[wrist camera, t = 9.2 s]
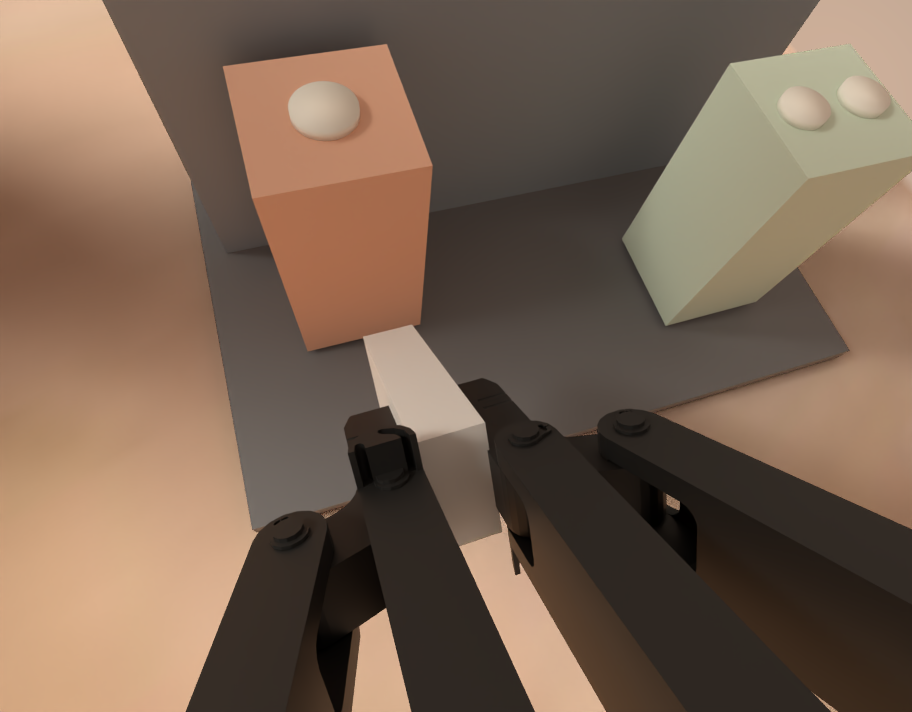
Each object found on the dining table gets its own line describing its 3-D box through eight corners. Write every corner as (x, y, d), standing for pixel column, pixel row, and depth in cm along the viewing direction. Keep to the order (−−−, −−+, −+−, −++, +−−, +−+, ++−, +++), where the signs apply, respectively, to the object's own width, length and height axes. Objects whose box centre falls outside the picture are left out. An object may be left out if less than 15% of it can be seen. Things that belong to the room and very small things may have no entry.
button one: (420, 324, 25) (433, 157, 16) (307, 351, 24) (249, 191, 15) (390, 233, 27) (386, 35, 17) (284, 255, 26) (219, 57, 16)
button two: (755, 302, 27) (944, 143, 18) (665, 325, 26) (814, 171, 17) (708, 219, 29) (856, 36, 20) (621, 238, 28) (734, 55, 19)
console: (837, 357, 28) (1157, 178, 16) (257, 532, 22) (97, 453, 10) (661, 70, 35) (794, -198, 23) (188, 147, 29) (47, -158, 17)
